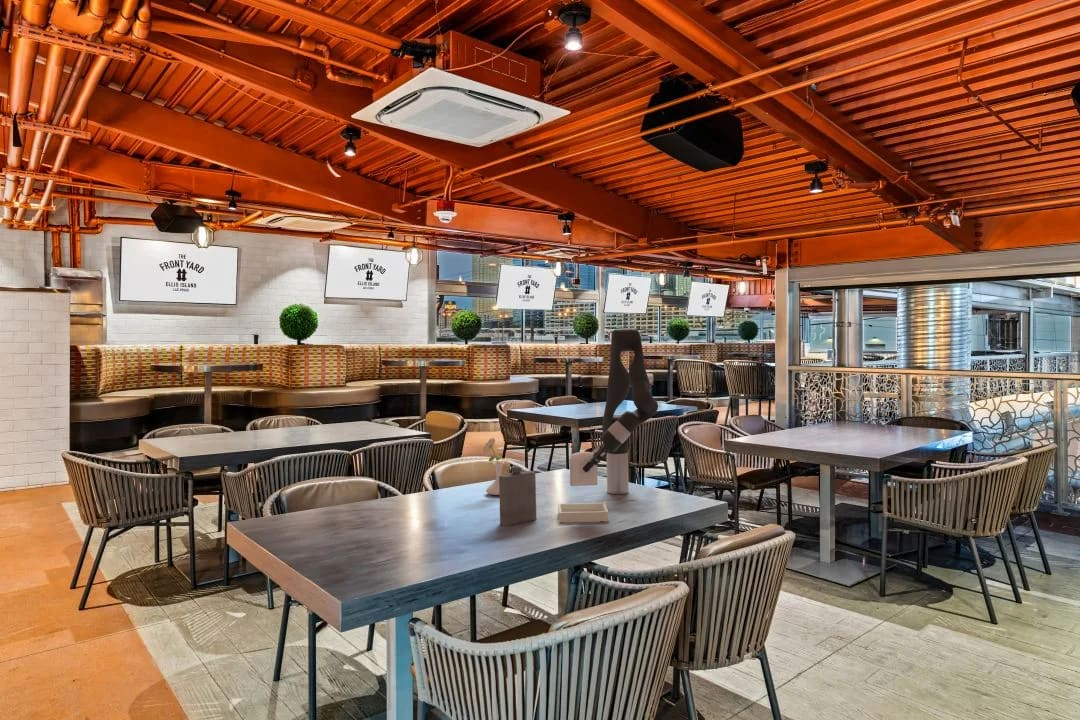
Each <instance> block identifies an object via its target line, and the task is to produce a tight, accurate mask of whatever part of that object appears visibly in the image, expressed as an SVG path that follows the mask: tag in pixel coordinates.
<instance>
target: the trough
mask: <svg viewBox="0 0 1080 720" xmlns="http://www.w3.org/2000/svg"><path fill="white" fill-rule="evenodd" d="M557 505H558V519H559V520H560V521H559V523H560V522H562V523H596V522H599V523H600V521H604V522H609V510H608V507H607V505H606V503H605V502H583V503H581V502H580V503H579V502H578V503H577V502H576V503H558V504H557Z"/></svg>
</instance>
